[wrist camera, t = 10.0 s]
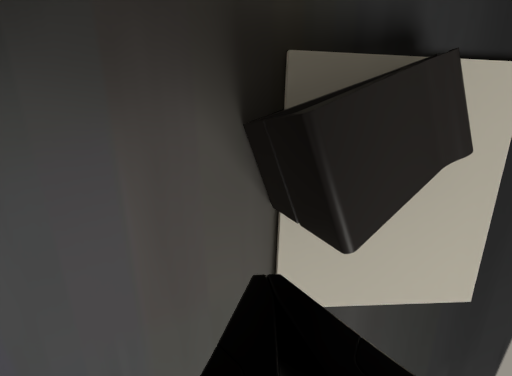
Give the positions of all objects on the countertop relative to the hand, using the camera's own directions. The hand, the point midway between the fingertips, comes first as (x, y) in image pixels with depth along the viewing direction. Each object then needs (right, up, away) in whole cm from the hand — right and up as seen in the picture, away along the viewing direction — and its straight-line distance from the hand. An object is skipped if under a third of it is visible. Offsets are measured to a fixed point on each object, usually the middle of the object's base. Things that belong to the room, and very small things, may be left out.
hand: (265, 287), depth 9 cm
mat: (+9, +3, +12) cm, 16 cm away
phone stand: (+1, +4, +6) cm, 7 cm away
